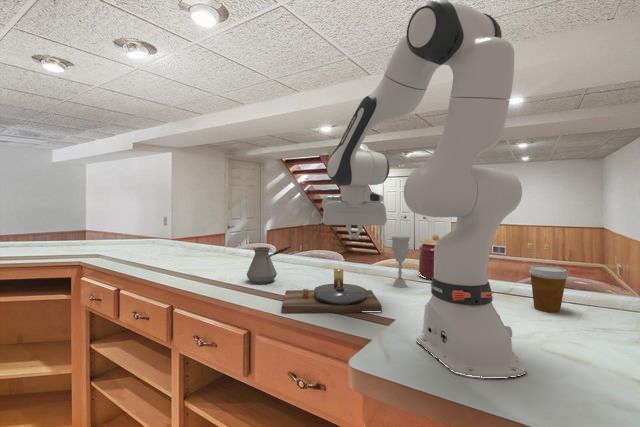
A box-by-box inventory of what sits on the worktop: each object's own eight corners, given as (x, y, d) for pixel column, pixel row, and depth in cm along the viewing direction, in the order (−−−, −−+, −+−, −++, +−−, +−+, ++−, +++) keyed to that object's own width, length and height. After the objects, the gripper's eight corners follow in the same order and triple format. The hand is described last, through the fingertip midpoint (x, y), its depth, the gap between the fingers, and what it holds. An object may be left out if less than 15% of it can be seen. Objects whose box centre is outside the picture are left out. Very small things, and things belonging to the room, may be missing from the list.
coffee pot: (240, 281, 129) (240, 242, 128) (263, 276, 138) (262, 240, 137) (279, 291, 115) (279, 248, 115) (301, 285, 124) (302, 244, 124)
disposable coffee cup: (520, 306, 101) (521, 266, 100) (542, 302, 104) (543, 264, 103) (551, 316, 92) (553, 273, 91) (575, 312, 95) (576, 270, 95)
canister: (412, 277, 137) (413, 234, 136) (427, 272, 146) (428, 232, 146) (443, 282, 128) (444, 236, 127) (457, 277, 137) (458, 234, 137)
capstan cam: (371, 304, 94) (371, 280, 94) (314, 305, 94) (314, 280, 93) (362, 289, 110) (362, 268, 110) (313, 289, 110) (313, 268, 109)
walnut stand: (381, 312, 94) (381, 297, 94) (281, 313, 94) (281, 297, 93) (371, 295, 110) (371, 282, 110) (286, 296, 110) (286, 283, 109)
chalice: (409, 288, 120) (410, 238, 119) (390, 287, 121) (391, 237, 120) (408, 283, 127) (409, 236, 126) (390, 282, 128) (390, 235, 127)
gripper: (322, 195, 103) (322, 240, 104) (388, 196, 104) (387, 240, 105) (321, 195, 110) (321, 237, 110) (383, 196, 110) (383, 237, 111)
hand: (354, 239), depth 108 cm, fingers closed
